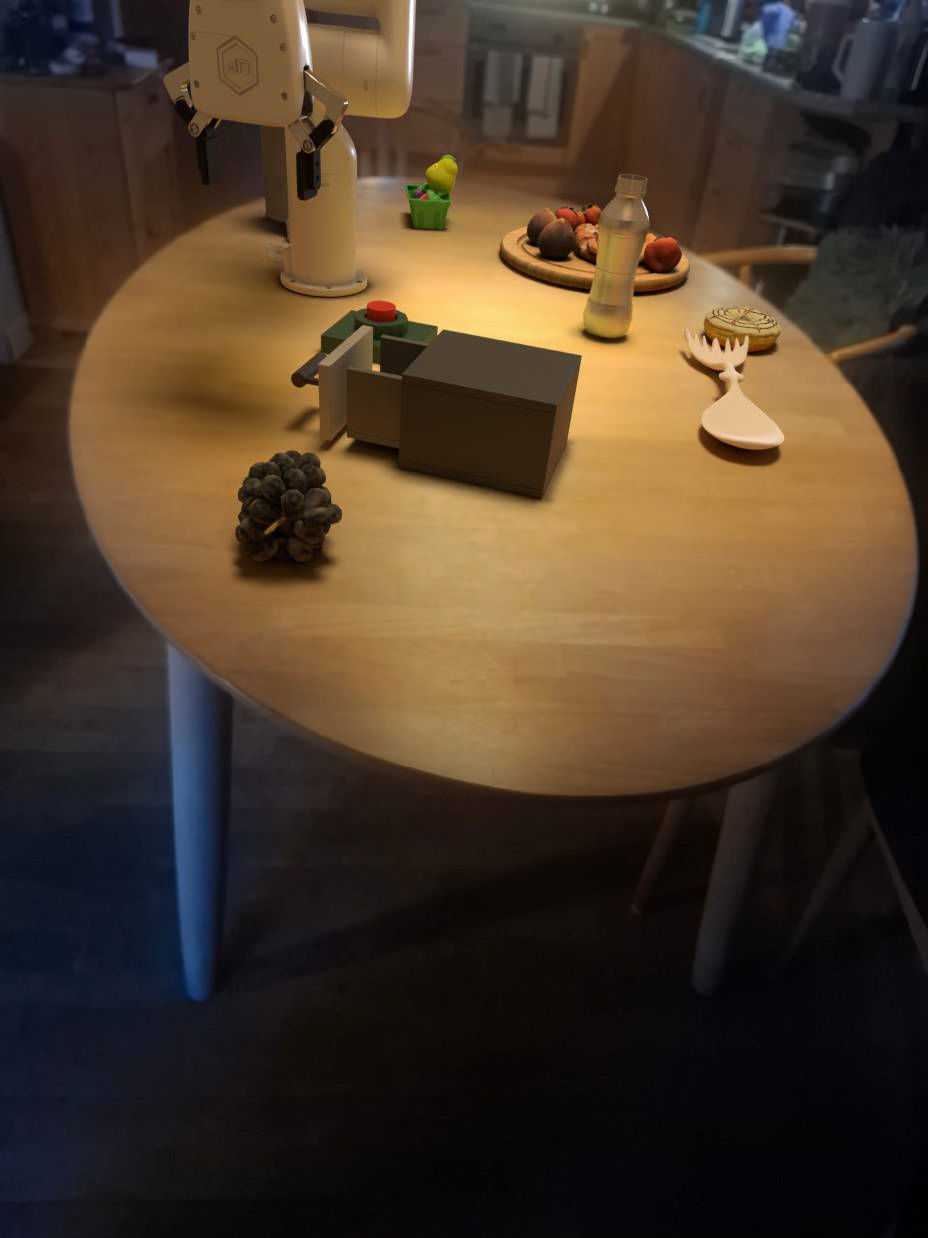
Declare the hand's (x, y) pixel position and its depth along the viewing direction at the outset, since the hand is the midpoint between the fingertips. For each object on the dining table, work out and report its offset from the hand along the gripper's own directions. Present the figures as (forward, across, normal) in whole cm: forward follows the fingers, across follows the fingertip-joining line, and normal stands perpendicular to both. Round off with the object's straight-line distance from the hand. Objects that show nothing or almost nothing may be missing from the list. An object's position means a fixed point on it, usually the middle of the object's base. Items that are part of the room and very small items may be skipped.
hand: (260, 190), depth 81 cm
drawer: (+21, +13, -1) cm, 25 cm away
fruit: (+22, +12, -22) cm, 34 cm away
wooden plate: (+20, +24, +72) cm, 79 cm away
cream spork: (+22, +48, +24) cm, 58 cm away
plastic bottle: (+21, +31, +40) cm, 55 cm away
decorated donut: (+21, +50, +47) cm, 71 cm away
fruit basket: (+20, -7, +81) cm, 84 cm away
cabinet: (+22, +25, -1) cm, 33 cm away
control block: (+21, +5, +21) cm, 30 cm away
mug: (+20, -26, +66) cm, 73 cm away
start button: (+18, +5, +21) cm, 28 cm away
